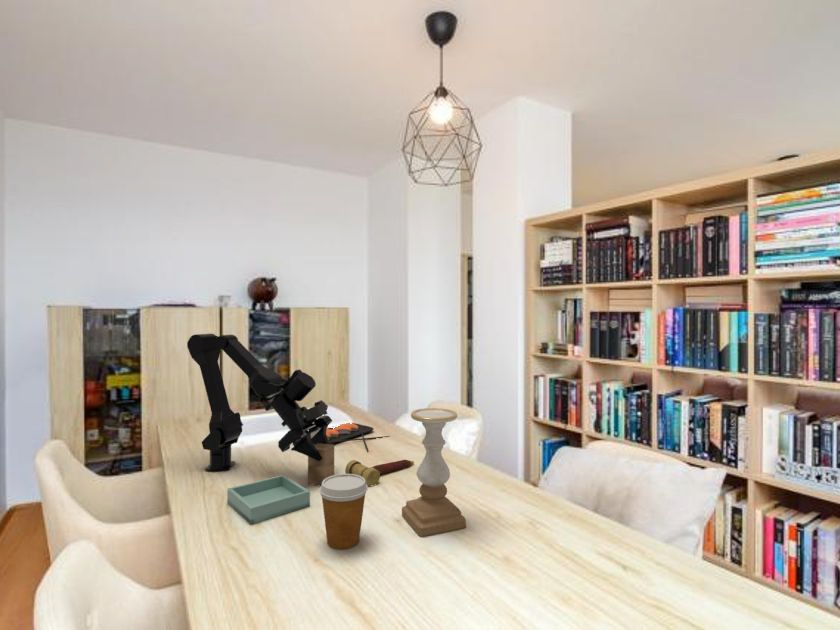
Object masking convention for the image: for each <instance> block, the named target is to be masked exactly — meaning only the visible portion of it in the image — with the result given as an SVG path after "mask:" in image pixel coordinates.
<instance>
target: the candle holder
mask: <svg viewBox="0 0 840 630" xmlns="http://www.w3.org/2000/svg"><path fill="white" fill-rule="evenodd" d="M410 418H411V419H412V420H414V421H416V422H419V423H420V422H421V425H422V426H423V428H424V429H425V436H424V438H423V439H422V441H421V443H422V445H423V447H424V450H425V455H424V457H423V459H422V461H421V462H420V463H419V466H418V467H417V470H416V477H417V479H418V481H419V483H422V484H421V485H420V487H419V494H420V497H419V496H418V498H416V499H410V500H407V501H406V502H405V506H402V507H401V516H402V518H403V519H404V520H405V522H406V523H407V524H408V525H409V526H410V527H411V529H412V530H413V531H414V532H415V534H417V535H418V537H421V538H423V537H424V538H425V537H428V536H434V535H439V534H443V533H448V532H453V531H457V530H458V531H459V530H463V529H465V528H467V520H466V518H465V516H463V515H462V511H461V510H460V509H459V507H457V505H456V504H454V503H453V502H452V501H451V500H450V498H448V497H446V495H448V494H447V493H448V489H447V486H446V485H445V484H446V483H447V482H448V481H449V479H450V477H451V471H450V468H449V466H448V464H447V462H446V461H445V459H444V457H443V454H442V450H443V449H444V446H445V445H446V442H447V441H446V440H445V438H444V437H443V429H444V428H445V426H446V424H447V423H451V422H455V421H456V420H457V418H458V413H457V412H456V411H454V410H451V409H448V408H441V407H440V408H438V407H437V408H436V407H427V408H419V409H415V410H412V411H411V413H410Z"/></svg>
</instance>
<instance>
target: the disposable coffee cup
mask: <svg viewBox="0 0 840 630" xmlns="http://www.w3.org/2000/svg"><path fill="white" fill-rule="evenodd" d="M368 489H369V486H367V484H366V481H365V479H364V478H363V477H362V476H359V475H355V474H346V473H339V474H334V475H333V476H330V477H328V478H326V479H324V480H323V481H322V485H321V486H319V491H318V492H319V493H320V496H321V500H322V510H323V515H324V516H323V517H324V525H325V526H324V527H325V533H326V534H325V535H326V543H327V545H328V546H329V547H330V548H331V549H332V548H333V549H335V550H347V549H350V548H351V549H352V548H354V547H355V546H356V545H358V544H359V542H360V538H361V537H360V535H361V530H362V529H361V528H362V521H363V513H364V507H365V505H364V504H365V500H366V499H365V498H366V494H367V491H368Z"/></svg>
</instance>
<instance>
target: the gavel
mask: <svg viewBox="0 0 840 630" xmlns="http://www.w3.org/2000/svg"><path fill="white" fill-rule="evenodd" d="M414 464H415V461H413V460H410V459H409V460H408V459H401V460H396V461H391V462H388V463H387V462H386V463H382V464H376V465H374V466H366V465H363V464H362V463H361V462H360V461H358V460H356V459H353V460H350V461H348V463H347V464H346V466H345V469H344V471H345V474H355V475H359V476H362V477H363V478H364V479H365V481H366V484H367V486H368V487H369V486H370V487H372V486H371V485H373V486H375V485H374V484H376V485H378V483H379V481H380V478H381V475H383V474H388V473H392V472H397V471H400V470H404V468H405V469H408V468H409V467H411V466H413V465H414Z"/></svg>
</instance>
